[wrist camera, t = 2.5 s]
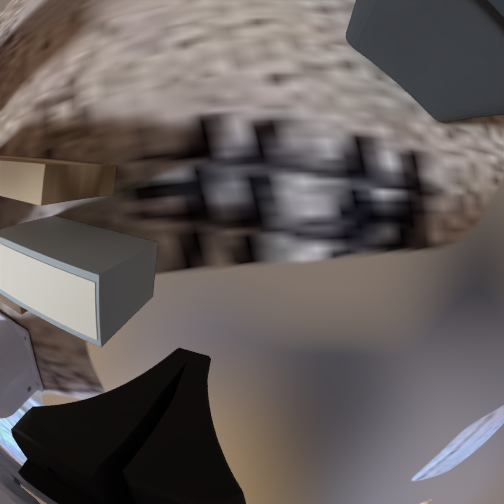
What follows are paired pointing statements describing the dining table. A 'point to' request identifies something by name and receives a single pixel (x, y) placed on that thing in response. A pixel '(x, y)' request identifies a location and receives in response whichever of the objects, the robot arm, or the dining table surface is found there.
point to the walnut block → (12, 304)
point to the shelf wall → (53, 180)
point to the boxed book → (77, 275)
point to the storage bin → (437, 51)
